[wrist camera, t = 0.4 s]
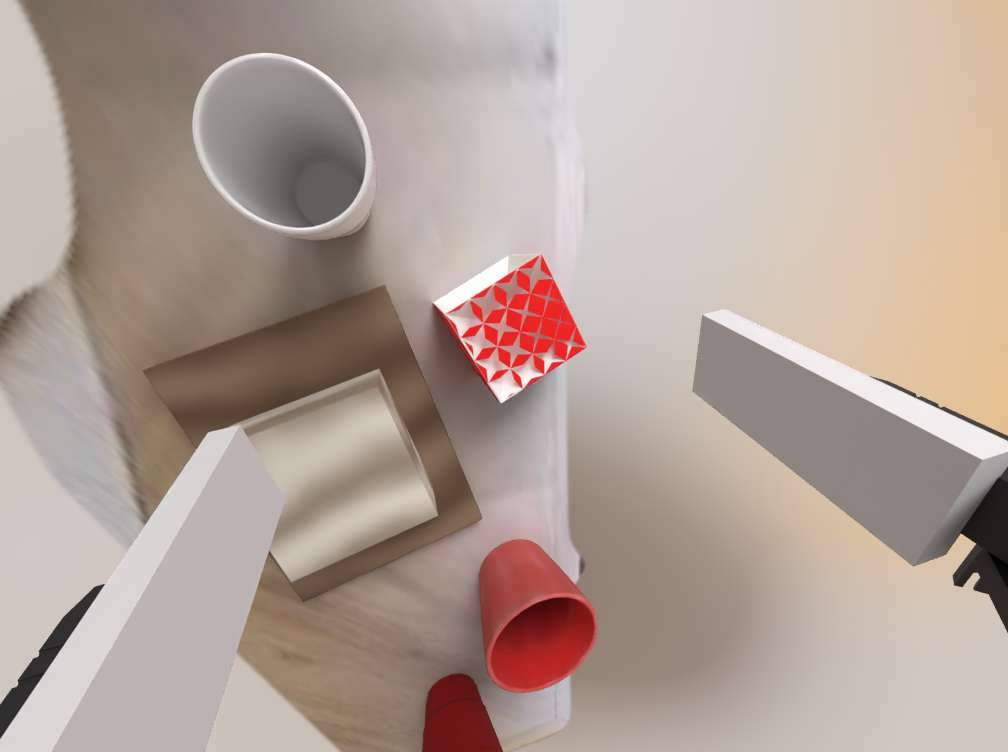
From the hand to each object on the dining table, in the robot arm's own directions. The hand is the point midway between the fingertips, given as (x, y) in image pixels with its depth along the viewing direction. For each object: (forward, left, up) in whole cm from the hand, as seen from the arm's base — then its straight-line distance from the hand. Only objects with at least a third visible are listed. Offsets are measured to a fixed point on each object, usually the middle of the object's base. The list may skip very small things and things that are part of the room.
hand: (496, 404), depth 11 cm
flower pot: (+30, -1, -24) cm, 39 cm away
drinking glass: (-10, -3, -24) cm, 27 cm away
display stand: (+9, -11, -24) cm, 28 cm away
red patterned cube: (+3, +5, -25) cm, 25 cm away
